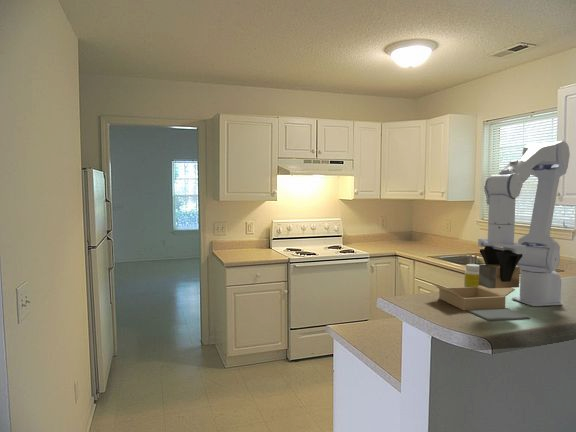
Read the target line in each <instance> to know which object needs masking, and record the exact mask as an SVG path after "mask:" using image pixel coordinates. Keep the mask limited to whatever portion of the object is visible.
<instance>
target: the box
mask: <svg viewBox="0 0 576 432" xmlns="http://www.w3.org/2000/svg"><path fill="white" fill-rule="evenodd" d="M478 265H479V285H481V286H484V287H486V288H513V289H515V288H520V274H521V269H520V267H518V266H517V265H516V267H515V270H514V272H513V275H512V278H511V281H510V282H502V281H501V277H500V265H499V264H491V265H486V264H478Z"/></svg>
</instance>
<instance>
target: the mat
mask: <svg viewBox="0 0 576 432" xmlns="http://www.w3.org/2000/svg"><path fill="white" fill-rule="evenodd" d="M467 311H468V313H471V314H473V315H475V316H477V317H480V318H481V319H484V320H486V321H487V322H493V321H494V322H495V321H512V320H531V317H530V316H528V315H526V314H523V313H521V312H518V311H517V310H516V311H515V310H513V309H510V308H509V307H505V308H495V309H474V310H467Z"/></svg>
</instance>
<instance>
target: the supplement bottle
mask: <svg viewBox="0 0 576 432" xmlns="http://www.w3.org/2000/svg"><path fill="white" fill-rule="evenodd" d="M479 265H480V264H476V263H469V264H468V263H467V264H465V271H464V276H463V277H464V279H463V280H464V281H463V282H464V283H463V287H478V286H479Z"/></svg>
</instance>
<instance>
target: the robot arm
mask: <svg viewBox="0 0 576 432" xmlns="http://www.w3.org/2000/svg"><path fill="white" fill-rule="evenodd" d="M522 148H523V149H522V156H521V157H520V158H519V159H512V160H510V161H509V163H508V164H507V165H506V166H504V168H502V170H501V171H499V173H497V174H492V175H490V176H489V177H487V178H486V179H485V184H484V187H483V190H484V194H485V197H486V200H485V201H486V202H485V203H486V205H488V215H487V216H488V217H487V218H488V219H487V221H488V222H487V226H488V227H487V238H478V240H477V246H478V247H484V248H482V249H481V248H480V249H479V253H480V255H481V257H482V259H483V260H484V261H483V262H484V265H491V264H499V265H500V277H501V281H502V282H510V281H511V278H512V275H513V272H514V270H515V267H516V266H518V267H520V276H519V296H513V297H511V299H512V300H514V301H517V302H520V303H522V304H526V305H528V306H531V307H541V306H542V307H543V306H545V307H546V306H561V305H564V302H562V301H561V299H562V297H561V296H562V278H561V276H560V274H559V273H558V272H557V271H556V270H557V269H558V268H559V265H560V263H561V262H560V261H561V253H560V252H561V251H560V249H561V247H560V246H561V245H560V244H559V242H558V241H556V240H555V239H554V238H552V237H551V236H550V235H551V230H552V224H553V218H554V212H555V206H556V200H557V192H558V189H559V188H558V187H559V183H560V178H561V177H562V176H563V175H566V174H567V173H568V172H567V171H568V168H569V161H570V157H571V155H570V154H571V153H570V147H569V144H568V142H566V141H565V140H560V141H549V142H548V141H547V142H541V143H540V142H538V143H537V142H536V143H526V144H525V146H523V147H522ZM531 176H533V177H535V178H537V185H536V191H535V197H534V202H533V207H532V208H533V209H532V213H531V214H532V215H531V219H530V225H529V232H528V233H527V234H525V235H523V236H522V237H520V238H518V241H517V242H515V229H516V228H515V227H516V226H515V225H516V224H515V221H516V199H517V198H519V196H520V195H521V191H522V188H523V184H524V183H525V182H526V181H527V180H528V179H529V178H530V177H531Z"/></svg>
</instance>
